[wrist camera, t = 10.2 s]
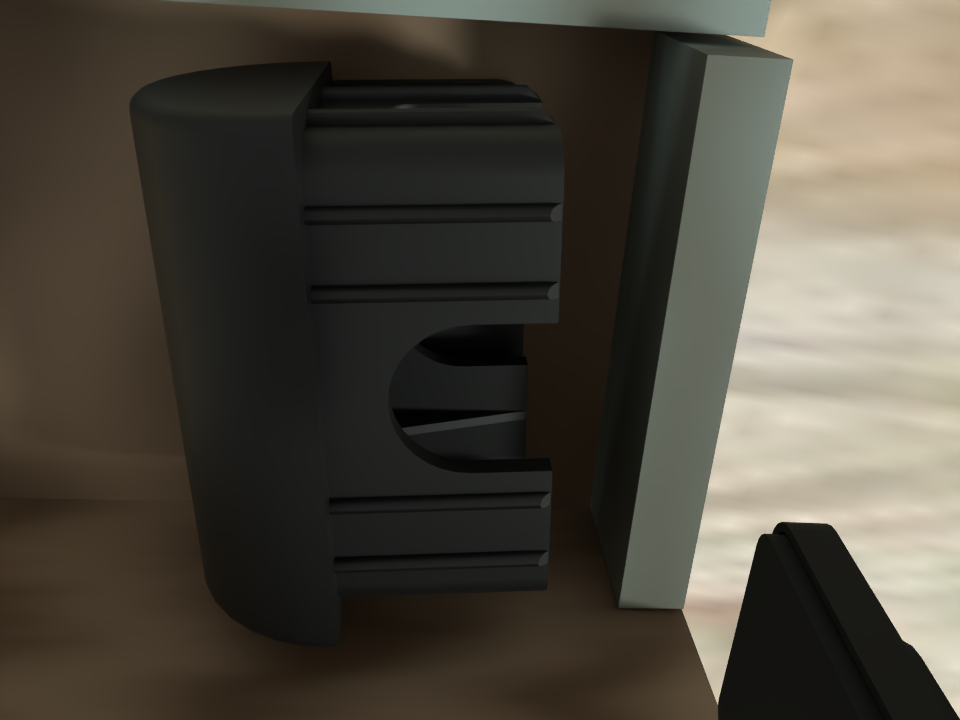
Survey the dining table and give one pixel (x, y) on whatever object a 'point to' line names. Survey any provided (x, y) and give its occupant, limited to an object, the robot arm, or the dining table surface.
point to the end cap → (353, 330)
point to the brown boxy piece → (547, 347)
